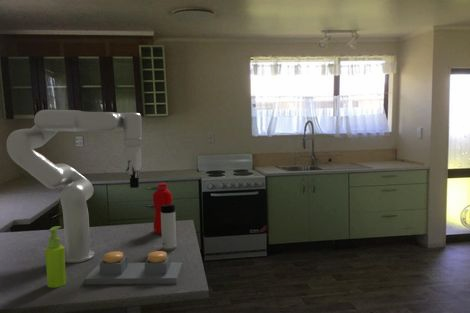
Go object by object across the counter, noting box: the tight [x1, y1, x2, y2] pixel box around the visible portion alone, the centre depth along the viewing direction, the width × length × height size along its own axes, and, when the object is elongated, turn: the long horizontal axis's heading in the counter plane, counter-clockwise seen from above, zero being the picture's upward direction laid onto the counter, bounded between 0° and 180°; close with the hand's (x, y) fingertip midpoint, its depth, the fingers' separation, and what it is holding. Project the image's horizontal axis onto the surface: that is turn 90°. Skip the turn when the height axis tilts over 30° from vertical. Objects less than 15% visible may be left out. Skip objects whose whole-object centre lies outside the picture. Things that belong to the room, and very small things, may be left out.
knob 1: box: [103, 250, 124, 263], centre depth 134 cm, size 7×7×6 cm
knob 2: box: [147, 250, 168, 263], centre depth 134 cm, size 7×7×6 cm
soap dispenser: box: [45, 225, 67, 289], centre depth 127 cm, size 6×7×20 cm
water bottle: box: [149, 182, 173, 235], centre depth 185 cm, size 9×11×25 cm
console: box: [84, 255, 183, 285], centre depth 134 cm, size 32×14×6 cm, turn 90°
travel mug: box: [160, 204, 177, 252], centre depth 161 cm, size 6×7×20 cm
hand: (134, 187), depth 151 cm, fingers closed
